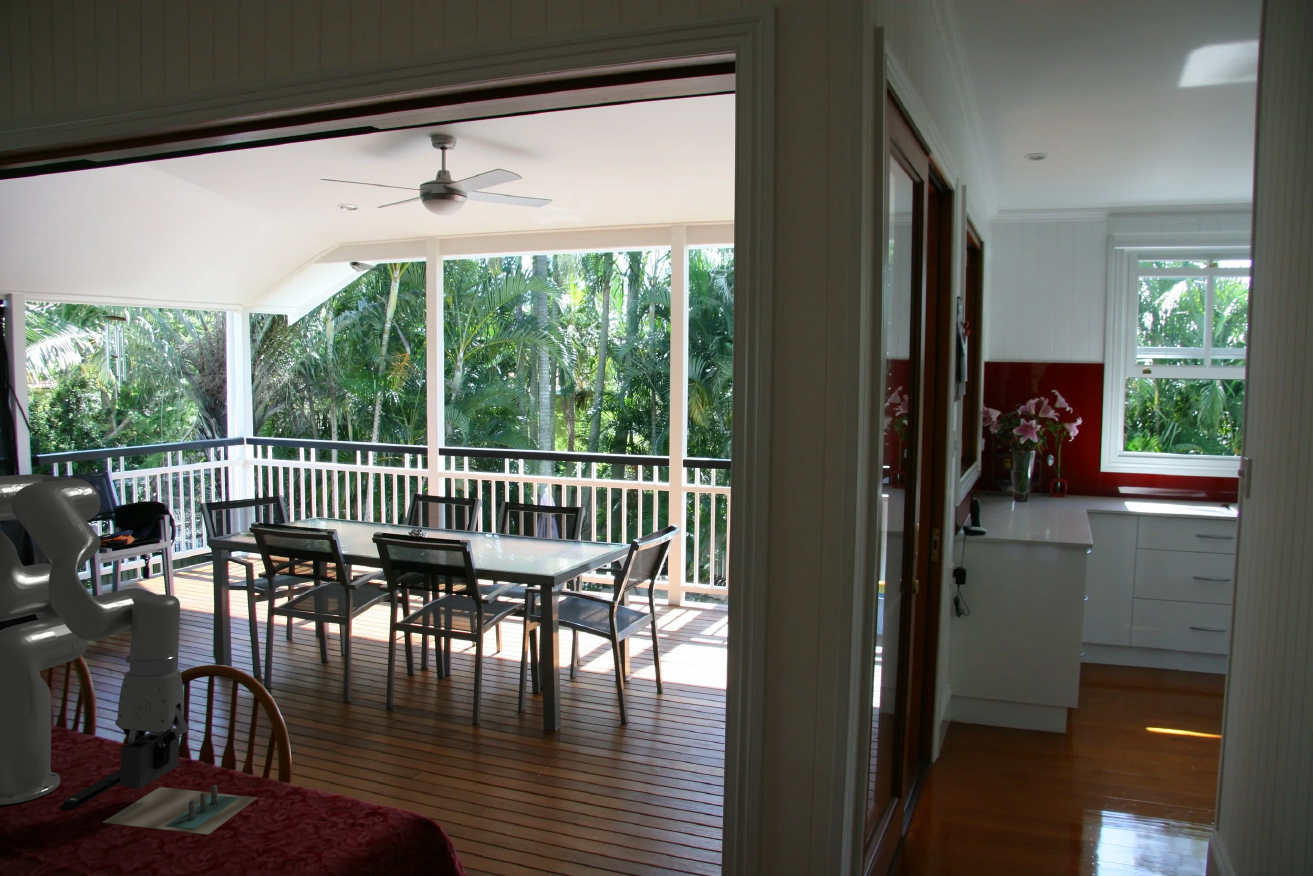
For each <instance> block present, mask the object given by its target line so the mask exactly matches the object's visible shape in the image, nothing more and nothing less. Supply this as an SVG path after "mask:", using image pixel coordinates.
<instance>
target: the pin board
mask: <svg viewBox="0 0 1313 876" xmlns="http://www.w3.org/2000/svg"><path fill="white" fill-rule="evenodd" d="M257 799H258V797H255V796H248V795H247V796H245V795H238V794H237V795H236V794H226V793H219V792H218V786H217V785H216V784H214V785H213V784H212V786H211V789H210V792H208V791H200V790H198V791H197V790H189V789H181V788H173V787H172V788H171V787H163V786H161V787H158V788H156V789H154V790H153V791H151V792H150V793H148V794H147V795H145V796H143V797H141V798H140V799H138V800H137V801H135V802H134V803H133V802H132V803H131V804H130V805H128V806H126V807H125V808H123V809H121V810H119V812H117V813H115V814H114V815H112V816H111V817H110V816H109V818H107V819H105V820H103V821H102V824H103V823H104V824H111V825H112V824H113V825H122V826H128V827H138V828H139V827H140V828H146V829H157V830H164V831H165V830H166V831H173V832H182V833H189V834H199V835H210V834H211V833H213V832H214V831H215V830H216V829H218V828H219V827H220V826H222V825H223V824H224V823H226V822H227V821H228V820H230V819H231V818H233V817H234V816H235V815H237V814H238V813H240V812H241V811H242V810H243V809H245V808H246V807H248V805H250V804H251V803H253V802H254V801H256V800H257Z"/></svg>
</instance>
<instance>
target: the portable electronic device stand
mask: <svg viewBox="0 0 1313 876" xmlns="http://www.w3.org/2000/svg"><path fill="white" fill-rule="evenodd" d="M120 770H121V768H120V769H117V770H116V771H114V772H112V773H110V774H109V775H107V776H105V777H103V778H102V779H100V780H98V781H97V782H95V783H93V784H90V785H89V786H87V787H85V788H84V789H82V790H81V791H80V790H79V792H77V793H75V794H73V795H72V796H70V797H68V798H66V799H65V800H64V801H63V802H62V805H61V809H62V810H75V809H77V808H79V807H81V806H82V804H84V803H85V802H86V803H87V802H89V801H91V800H92V799H94V798H96V797H98V796H100V795H101V794H103V793H104V792H106V791H108V790H110V789H111V788H113V787H115V786H117V785H118V784H120Z"/></svg>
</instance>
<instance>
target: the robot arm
mask: <svg viewBox="0 0 1313 876" xmlns="http://www.w3.org/2000/svg"><path fill="white" fill-rule="evenodd" d="M101 501H102V500H101V496H100V494H99V492H98V490H97V489H96V488H95V487H94V486H93V485H92V484H91V483H90V482H88V481H86V480H84V479H79V478H74V477H73V478H72V477H64V476H58V475H57V476H56V475H48V474H41V473H38V474H37V473H33V474H32V473H31V474H30V473H29V474H28V473H27V474H26V473H25V474H16V475H14V474H13V475H0V521H9V520H18V521H19V522H20V524H21V526H22V527H23V528H24V529H25V531H26V532H27V533H28V535H29V537H31V538H32V540H33V541H34V543H35V544H36V545H37V546H38V548H39V549H40V551H41V552H42V553H43V555H44V556H45V558H46V559H47V560H48V561H49V563H36V564H30V565H24V564H23V563H22V562H21V559H20V557H19V554H18V551H17V548H16V545H15V543H14V542H13V541H12V539H11V538H10V537H9V536H7V534H5V533H4V532H3V531H2V530H0V622H5V621H10V620H14V619H20V618H23V617H28V616H31V615H32V616H33V615H35V616H36V618H37V619H36V620H32V621H27V622H24V623H20V624H15V625H11V626H9V627H8V626H7V627H5V628H2V629H1V630H0V806H3V805H13V804H19V803H25V802H27V801H28V802H29V801H31V800H35V799H39V798H41V797H43V796H45V795H47V794H49V793H51V792H53V791H54V790H56V789H57V788H58V787H59V786H60V784H61V776H60V774H59V773H57V772H55V771H52V770H51V768H52V767H51V761H52V759H51V758H52V757H51V756H52V755H51V754H52V753H51V752H52V750H51V749H52V747H51V746H52V693H51V689H50V687H49V686H48V684H47V683H46V681H45V680H44V679H43V678H42V675H41V672H42V671H44V670H47V669H50V668H54V667H57V666H59V665H60V666H61V665H64V664H66V663H70V662H72V661H74V660H77V659H78V658H79V657H81V656H82V655H83V654H84V653H85V651H86V650H87V648H88V645H89V641H96V640H100V639H104V638H108V637H111V636H115V635H118V634H121V633H126V632H127V633H128V632H130V646H129V649H130V650H129V655H127V656H126V657H125V663H126V664H129V670H128V671H126V672H125V673H124V677H123V680H122V682H121V687H120V693H119V698H118V705H117V707H118V708H117V718H116V721H115V722H114V724H115V725H116V726H117V727H118V728H119V729H120V730H121V731H123V734H125V736H126V737H127V738H128V739H127V742H128V743H130V742H132V741H134V740H136V739H138V738H140V737H142V736H144V735H146V734H147V732H148V733H150V732H153V733H156V735H157V744H158V747H156V748H155V759H154V769H160V768H161V767H163V766H165V765H167V764H168V763H169V760H170V744H171V742H173V741H174V740H175V739H176V738H177V737H178V736H179V735H180V736H181V735H183V734H184V733H186V732H188V731H189V730H190V729H189V725H188V723H187V722H186V720H185V716H184V714H185V697H184V684H183V679H182V673H181V671H180V670H179V648H180V647H179V644H180V640H179V639H180V615H181V603H180V600H179V598H178V597H176V596H174V595H172V594H165V593H164V594H157V593H154V592H152V591H149V590H147V589H144V588H141V587H132V588H131V587H129V588H125V589H122V590H118V591H117V590H116V591H111V592H107V593H102V594H99V595H94V596H92V594H91V593H90V592H89V591H88V589H86V586H84V584H83V582H82V580H81V578H80V576H79V571H78V568H79V567H81V566H82V565H84V564H85V563H86V562H88V561H89V560H90V559H91V558H93V556H94V555H96V553H97V552H98V551H99V549H100V548H101V546H102V545H101V543H102V540H101V538H100V536H99V535H98V534H97V533H96V532H95V530H94V528H93V527H92V526H91V525H90V524H89V522H88V521H90V520H93V518H95V517H96V516H97V515H98V513H99V512H100V510H101ZM173 728H176V729H175V730H174V731H173ZM164 732H165V733H166V736H165V733H164ZM180 736H179V737H180Z"/></svg>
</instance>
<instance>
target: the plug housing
mask: <svg viewBox="0 0 1313 876" xmlns="http://www.w3.org/2000/svg"><path fill="white" fill-rule="evenodd" d="M175 729H176V727H173V731H174V730H175ZM164 733H165V732H164ZM165 736H166V733H165ZM180 736H181V735H179V736H178V737H177V738H176V739H175V740H174V741H173V742H171V744H170V760H169V763H168V764H167V765H165V766H163V767H161V768H160V769H154V759H155V748H156V747H158V744H157V735H156V733H153V732H148V733H146V735H144V736H142V737H140V738H138V739H136V740H134V741H132V742H130V743H129V742H128V743H127V744H124V745H123V746H121V747H120V769H121V770H120V783H119V787H123V788H130V789H131V788H132V789H137V790H140V789H142V788H144V787H145V786H147V785H148V784H149V785H150V783H152V782H154V781H155V780H157V779H159V778H160V777H162V776H163V775H165V774H168V773H169V772H170V771H173V769H175V768H177V767H179V757H180V756H179V755H180Z"/></svg>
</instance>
